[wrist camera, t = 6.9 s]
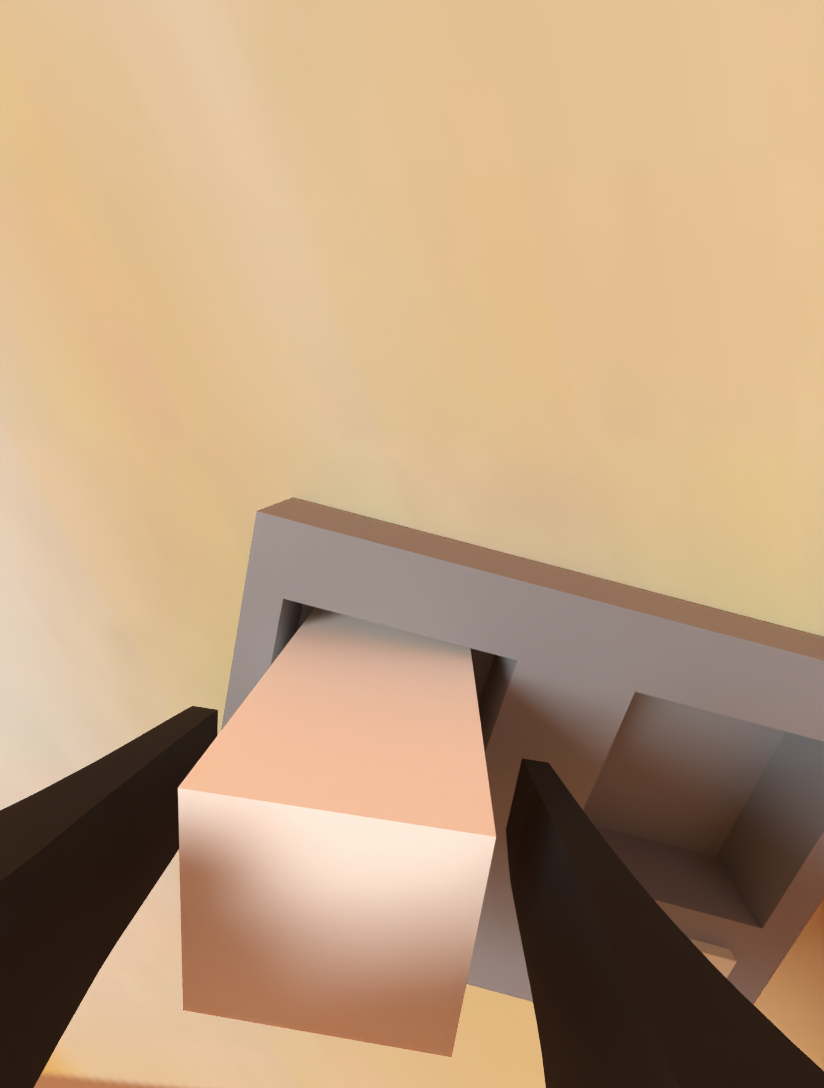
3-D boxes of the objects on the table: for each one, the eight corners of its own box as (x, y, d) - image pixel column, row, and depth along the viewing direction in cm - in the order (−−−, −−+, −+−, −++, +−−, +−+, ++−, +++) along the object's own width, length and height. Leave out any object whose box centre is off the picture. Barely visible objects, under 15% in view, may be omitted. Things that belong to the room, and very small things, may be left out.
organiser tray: (856, 646, 12) (972, 703, 10) (677, 957, 16) (727, 1066, 13) (292, 497, 12) (251, 513, 10) (230, 837, 16) (186, 920, 13)
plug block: (466, 623, 13) (496, 836, 6) (446, 751, 14) (451, 1057, 7) (317, 603, 13) (178, 787, 6) (309, 731, 14) (183, 1010, 7)
